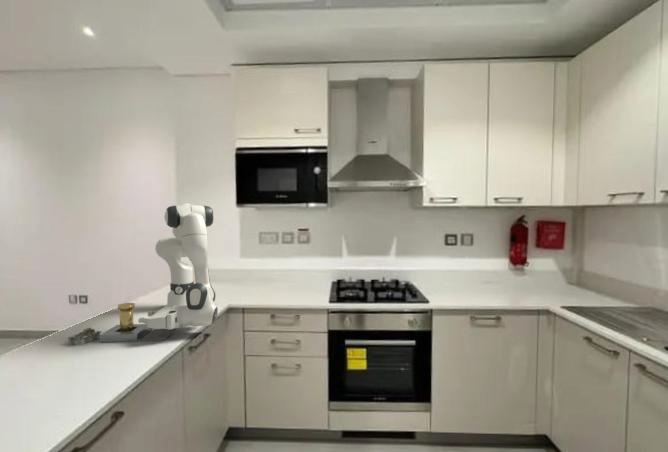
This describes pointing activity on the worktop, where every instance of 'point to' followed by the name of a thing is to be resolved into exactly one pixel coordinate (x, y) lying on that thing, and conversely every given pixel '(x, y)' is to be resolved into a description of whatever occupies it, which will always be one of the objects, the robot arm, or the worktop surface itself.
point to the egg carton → (84, 336)
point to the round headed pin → (126, 316)
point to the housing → (125, 334)
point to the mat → (158, 334)
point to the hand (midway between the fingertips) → (143, 317)
